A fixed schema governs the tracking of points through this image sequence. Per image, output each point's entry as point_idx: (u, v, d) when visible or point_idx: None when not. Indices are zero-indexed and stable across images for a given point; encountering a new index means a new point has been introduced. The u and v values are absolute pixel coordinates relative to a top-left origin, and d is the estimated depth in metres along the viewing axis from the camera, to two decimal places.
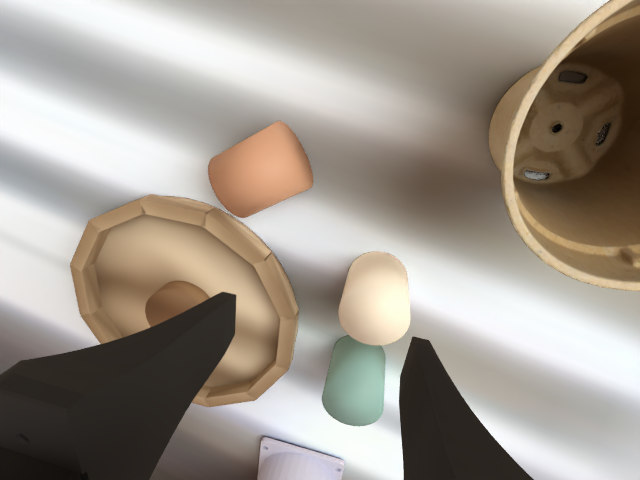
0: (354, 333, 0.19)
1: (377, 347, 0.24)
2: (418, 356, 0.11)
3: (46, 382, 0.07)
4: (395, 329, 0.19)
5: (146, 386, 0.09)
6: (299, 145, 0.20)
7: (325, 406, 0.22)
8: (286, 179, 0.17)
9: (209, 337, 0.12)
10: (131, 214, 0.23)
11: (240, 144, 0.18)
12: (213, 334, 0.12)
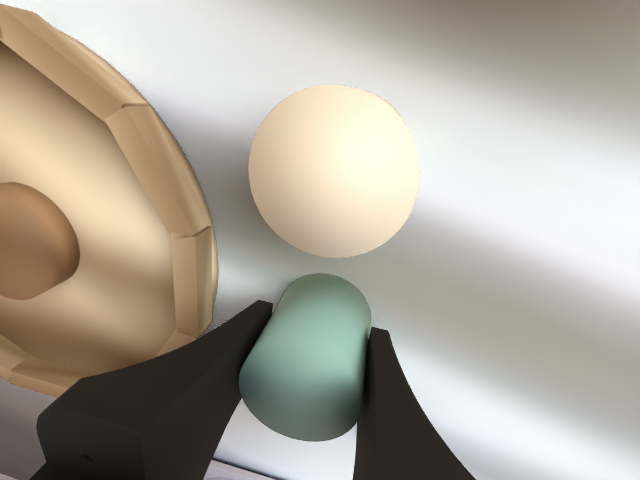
0: (289, 230, 0.08)
1: (354, 295, 0.13)
2: (372, 345, 0.11)
3: (114, 402, 0.07)
4: (384, 211, 0.08)
5: (200, 401, 0.09)
6: None
7: (247, 402, 0.11)
8: None
9: (250, 347, 0.12)
10: None
11: None
12: (253, 344, 0.12)
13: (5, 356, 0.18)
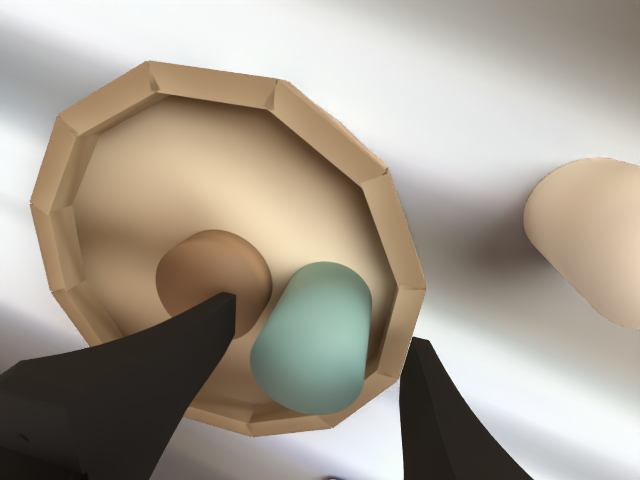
0: (609, 306, 0.09)
1: (356, 281, 0.14)
2: (418, 356, 0.11)
3: (47, 382, 0.07)
4: None
5: (146, 386, 0.09)
6: None
7: (258, 378, 0.12)
8: None
9: (209, 337, 0.12)
10: (133, 95, 0.12)
11: None
12: (213, 334, 0.12)
13: None
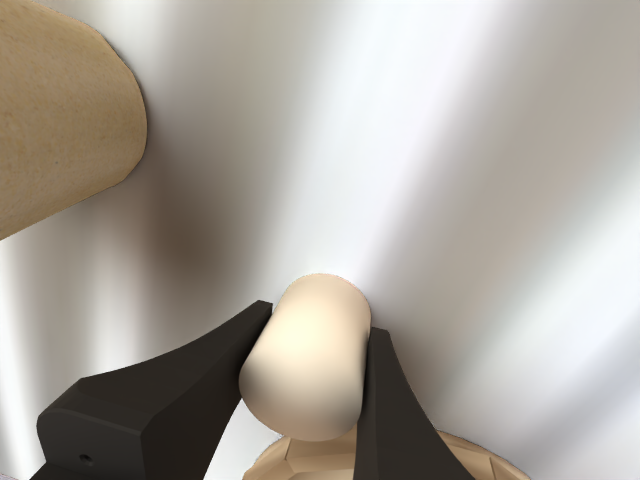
0: (338, 426, 0.11)
1: None
2: (372, 345, 0.11)
3: (114, 401, 0.07)
4: (318, 367, 0.10)
5: (200, 401, 0.09)
6: None
7: None
8: None
9: (250, 347, 0.12)
10: None
11: None
12: (253, 344, 0.12)
13: None
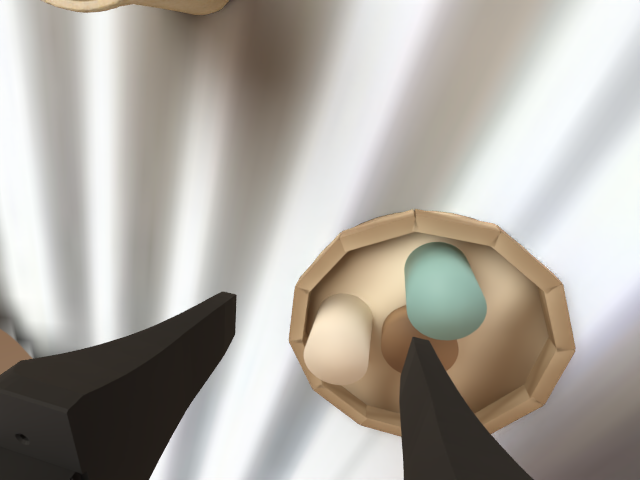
0: (356, 376, 0.21)
1: (414, 254, 0.21)
2: (418, 356, 0.11)
3: (47, 382, 0.07)
4: (346, 344, 0.20)
5: (146, 386, 0.09)
6: None
7: (454, 337, 0.18)
8: None
9: (209, 337, 0.12)
10: (303, 352, 0.25)
11: None
12: (213, 334, 0.12)
13: (518, 398, 0.23)
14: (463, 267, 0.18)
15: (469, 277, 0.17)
